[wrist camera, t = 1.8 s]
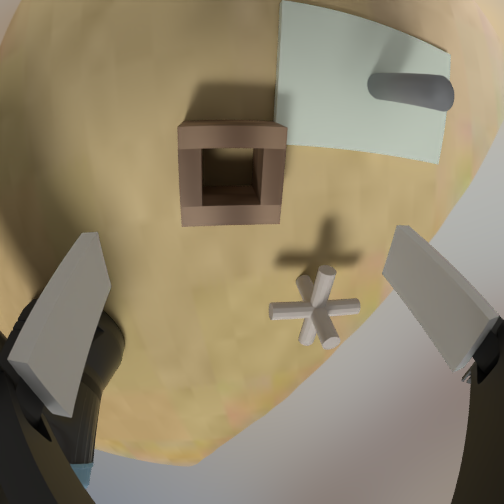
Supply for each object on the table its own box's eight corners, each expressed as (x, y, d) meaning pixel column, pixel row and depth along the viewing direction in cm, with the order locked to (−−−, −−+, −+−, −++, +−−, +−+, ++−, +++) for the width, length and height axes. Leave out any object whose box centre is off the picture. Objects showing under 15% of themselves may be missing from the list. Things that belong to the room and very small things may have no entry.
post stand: (272, 142, 25) (306, 170, 16) (279, 3, 18) (318, -38, 9) (433, 161, 28) (492, 193, 19) (444, 54, 20) (510, 60, 12)
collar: (186, 203, 27) (181, 226, 23) (183, 121, 23) (177, 126, 18) (268, 202, 28) (279, 223, 24) (273, 121, 24) (287, 127, 20)
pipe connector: (267, 243, 30) (291, 307, 22) (350, 245, 32) (392, 299, 24) (257, 313, 36) (272, 378, 27) (329, 309, 37) (357, 366, 29)
